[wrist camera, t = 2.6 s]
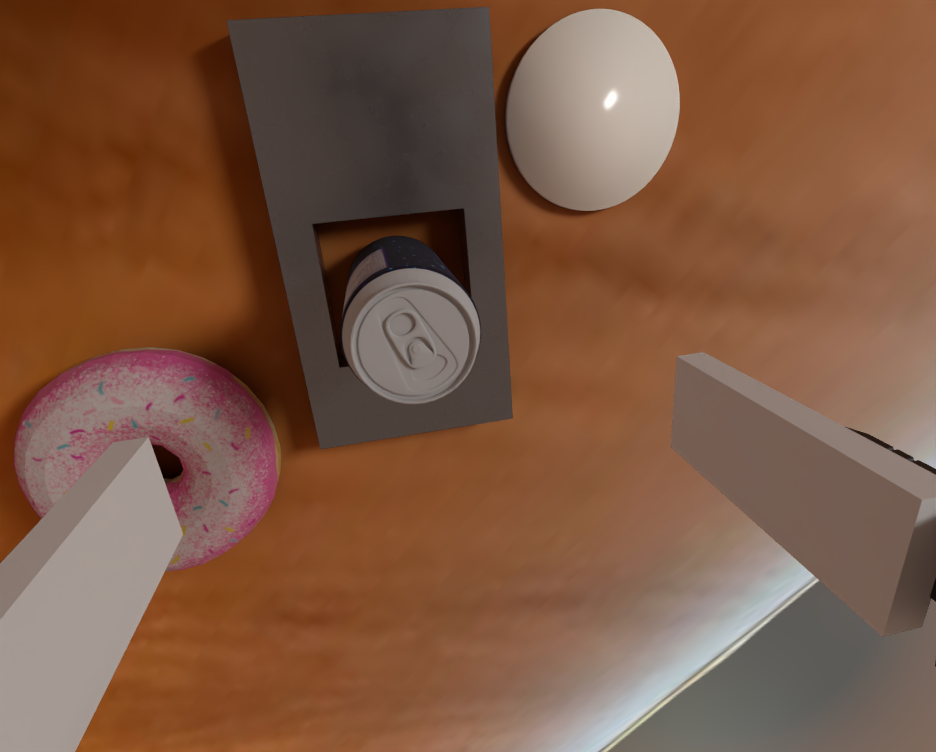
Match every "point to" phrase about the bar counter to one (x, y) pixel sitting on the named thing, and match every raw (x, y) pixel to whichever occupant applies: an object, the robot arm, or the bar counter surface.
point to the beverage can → (407, 322)
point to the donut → (157, 440)
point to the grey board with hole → (378, 183)
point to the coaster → (592, 110)
